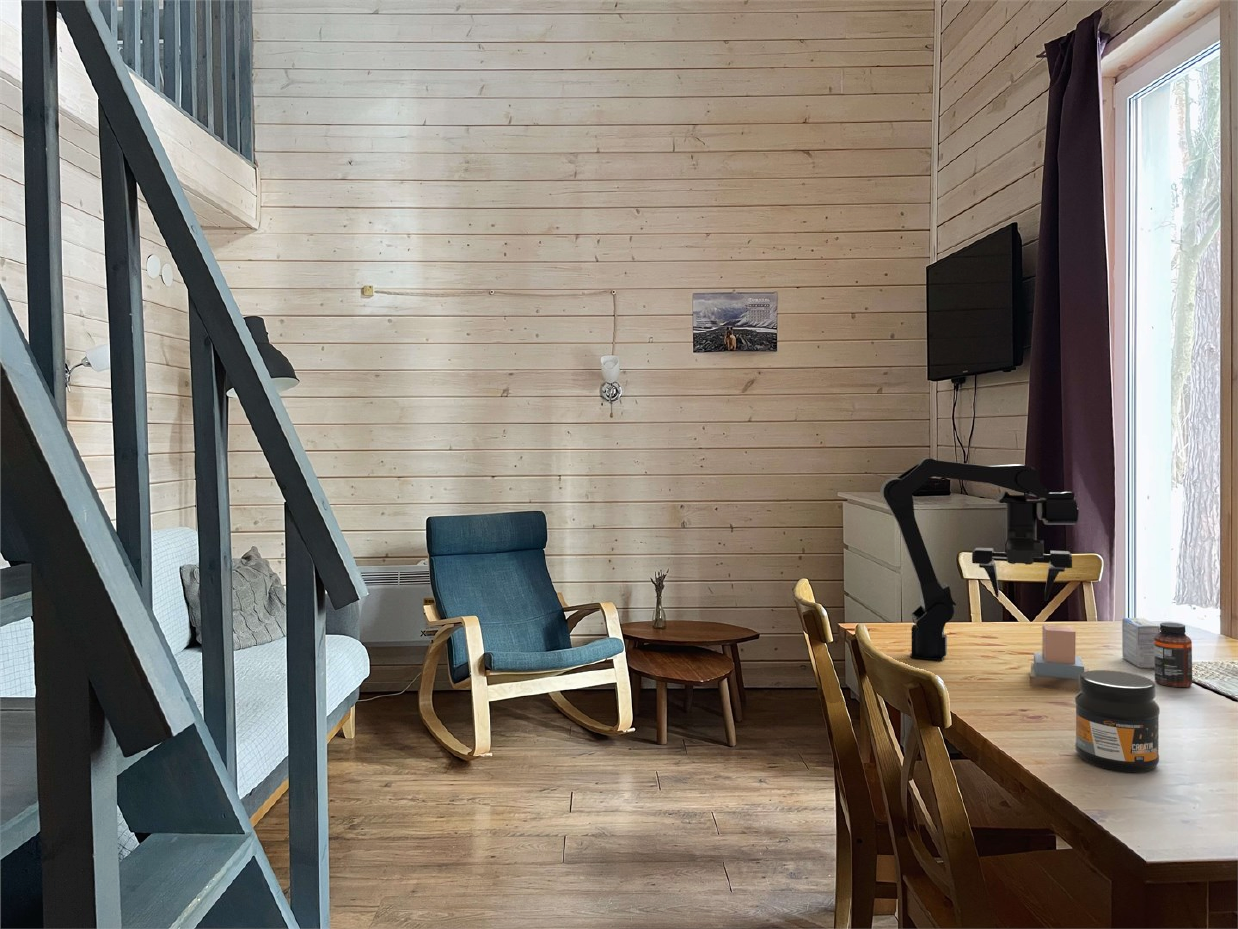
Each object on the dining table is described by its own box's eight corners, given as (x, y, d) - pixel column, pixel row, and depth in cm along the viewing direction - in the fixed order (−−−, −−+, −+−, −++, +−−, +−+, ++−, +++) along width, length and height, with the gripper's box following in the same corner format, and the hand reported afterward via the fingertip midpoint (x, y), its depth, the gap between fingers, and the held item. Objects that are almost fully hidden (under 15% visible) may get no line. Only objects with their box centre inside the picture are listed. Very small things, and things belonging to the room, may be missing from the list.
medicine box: (1161, 669, 167) (1161, 626, 167) (1137, 668, 168) (1137, 625, 167) (1144, 658, 175) (1145, 617, 174) (1121, 658, 175) (1121, 617, 175)
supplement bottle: (1186, 680, 159) (1186, 621, 158) (1196, 689, 153) (1197, 628, 153) (1150, 678, 161) (1150, 620, 160) (1159, 687, 155) (1159, 626, 155)
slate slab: (1036, 675, 158) (1036, 662, 157) (1033, 664, 165) (1033, 652, 165) (1084, 680, 154) (1084, 666, 154) (1079, 669, 162) (1079, 656, 162)
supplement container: (1101, 776, 115) (1101, 690, 115) (1060, 747, 126) (1060, 669, 126) (1176, 774, 116) (1177, 689, 115) (1130, 746, 126) (1130, 668, 126)
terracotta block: (1045, 661, 158) (1045, 630, 158) (1042, 654, 163) (1042, 624, 163) (1075, 663, 156) (1075, 631, 156) (1071, 656, 161) (1071, 626, 161)
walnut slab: (1030, 689, 157) (1030, 676, 157) (1031, 675, 166) (1031, 663, 166) (1090, 696, 153) (1090, 682, 153) (1088, 681, 162) (1088, 669, 161)
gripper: (969, 526, 171) (970, 602, 172) (1072, 530, 163) (1072, 609, 163) (974, 521, 181) (974, 593, 182) (1071, 524, 173) (1071, 599, 173)
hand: (1021, 598), depth 175 cm, fingers open, 9 cm apart
